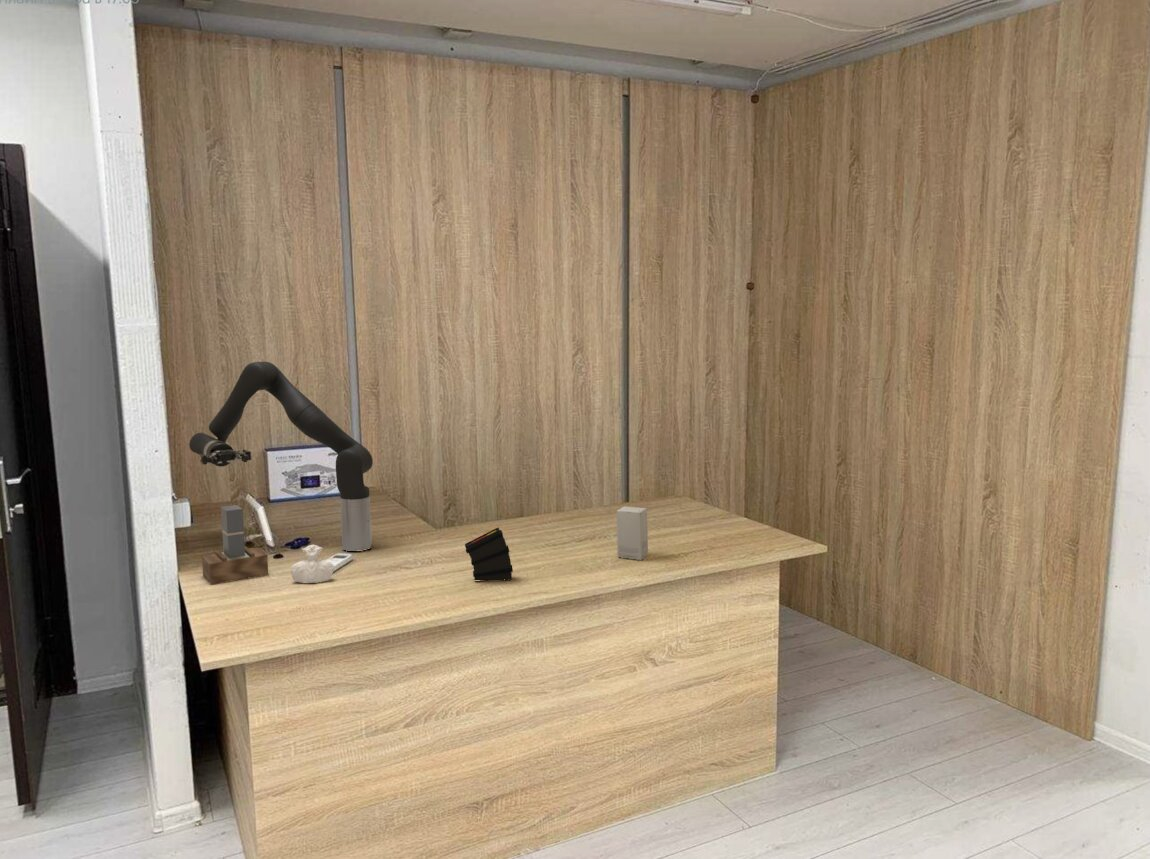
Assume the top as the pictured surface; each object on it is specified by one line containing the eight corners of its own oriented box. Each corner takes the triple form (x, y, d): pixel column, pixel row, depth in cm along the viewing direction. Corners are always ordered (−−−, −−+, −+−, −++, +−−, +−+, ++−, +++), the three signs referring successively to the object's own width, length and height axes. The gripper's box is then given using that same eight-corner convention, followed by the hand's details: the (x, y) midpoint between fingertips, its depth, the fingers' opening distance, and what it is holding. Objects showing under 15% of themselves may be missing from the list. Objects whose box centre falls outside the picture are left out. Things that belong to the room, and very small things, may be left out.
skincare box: (648, 556, 278) (649, 507, 275) (641, 561, 272) (641, 512, 270) (623, 553, 281) (624, 505, 279) (615, 558, 275) (616, 509, 273)
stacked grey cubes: (223, 553, 259) (220, 507, 257) (239, 551, 261) (236, 505, 259) (228, 558, 254) (226, 511, 252) (245, 555, 256) (242, 508, 254)
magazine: (523, 574, 253) (500, 529, 250) (482, 595, 252) (458, 550, 250) (522, 570, 257) (499, 526, 254) (481, 591, 256) (458, 547, 253)
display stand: (258, 566, 267) (257, 544, 266) (268, 574, 259) (267, 551, 258) (203, 575, 258) (201, 552, 257) (210, 584, 250) (209, 560, 249)
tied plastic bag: (334, 586, 255) (335, 550, 260) (332, 577, 248) (333, 540, 254) (291, 589, 253) (293, 552, 258) (288, 579, 246) (290, 542, 252)
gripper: (193, 443, 275) (205, 450, 262) (241, 439, 283) (254, 445, 270) (195, 466, 276) (207, 475, 263) (242, 462, 284) (256, 469, 271)
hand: (231, 460), depth 266 cm, fingers open, 8 cm apart
